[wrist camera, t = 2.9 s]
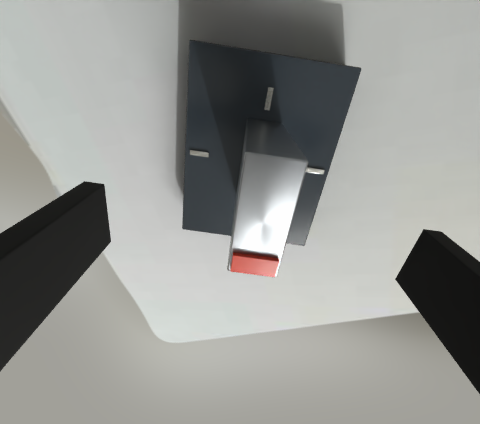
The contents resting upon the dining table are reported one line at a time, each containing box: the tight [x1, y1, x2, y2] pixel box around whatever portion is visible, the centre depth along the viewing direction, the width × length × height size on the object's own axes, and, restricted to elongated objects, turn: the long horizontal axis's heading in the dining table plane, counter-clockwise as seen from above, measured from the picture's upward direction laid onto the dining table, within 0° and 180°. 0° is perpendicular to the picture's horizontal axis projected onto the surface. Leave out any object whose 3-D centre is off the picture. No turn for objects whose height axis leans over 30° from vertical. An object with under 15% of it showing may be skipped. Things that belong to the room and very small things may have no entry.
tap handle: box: [227, 118, 308, 277], centre depth 15 cm, size 6×2×9 cm, turn 172°
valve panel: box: [182, 40, 361, 246], centre depth 20 cm, size 14×11×3 cm
